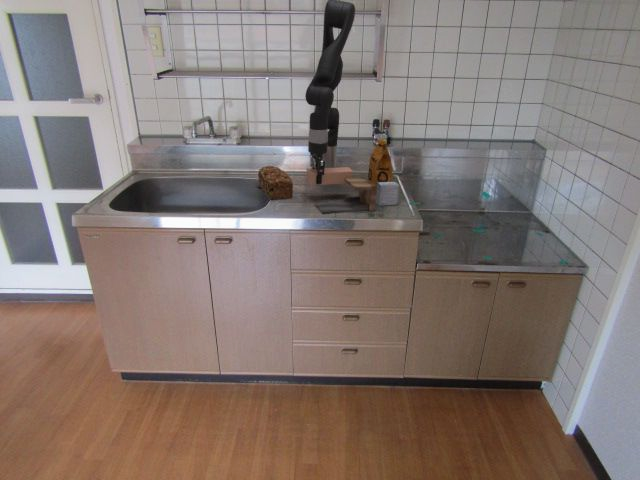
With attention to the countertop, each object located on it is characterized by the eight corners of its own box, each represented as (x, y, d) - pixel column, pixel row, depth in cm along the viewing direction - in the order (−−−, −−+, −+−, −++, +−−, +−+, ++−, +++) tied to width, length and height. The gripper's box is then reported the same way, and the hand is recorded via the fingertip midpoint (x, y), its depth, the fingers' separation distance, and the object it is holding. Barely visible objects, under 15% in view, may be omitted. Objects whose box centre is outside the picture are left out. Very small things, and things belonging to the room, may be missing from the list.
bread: (258, 187, 195) (257, 165, 190) (281, 185, 198) (281, 163, 194) (268, 201, 179) (268, 177, 175) (293, 198, 182) (294, 175, 178)
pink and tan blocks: (314, 204, 176) (314, 180, 172) (362, 200, 182) (364, 177, 178) (323, 215, 166) (324, 189, 162) (374, 210, 172) (376, 185, 168)
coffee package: (369, 195, 189) (373, 144, 179) (365, 186, 200) (369, 137, 191) (392, 195, 189) (398, 144, 180) (387, 186, 200) (392, 138, 191)
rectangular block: (306, 180, 181) (306, 169, 179) (347, 178, 186) (348, 167, 183) (310, 185, 176) (310, 173, 174) (352, 183, 180) (353, 171, 178)
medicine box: (393, 201, 182) (395, 181, 179) (397, 205, 178) (399, 184, 175) (375, 202, 181) (377, 182, 177) (378, 206, 177) (380, 185, 173)
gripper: (304, 136, 177) (303, 176, 184) (313, 145, 164) (312, 187, 172) (322, 135, 179) (320, 175, 186) (332, 144, 166) (330, 186, 174)
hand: (316, 181), depth 179 cm, fingers closed on rectangular block, 6 cm apart
